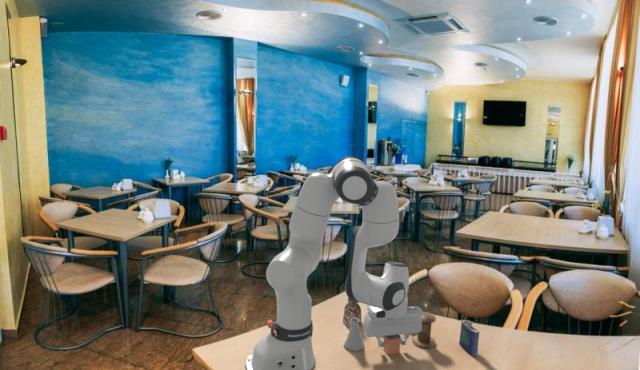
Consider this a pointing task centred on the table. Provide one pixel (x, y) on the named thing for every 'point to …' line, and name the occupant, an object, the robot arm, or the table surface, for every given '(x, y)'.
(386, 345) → the block
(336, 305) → the table surface
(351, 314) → the figurine
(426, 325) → the brown spool-shaped piece
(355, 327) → the flask
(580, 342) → the table surface
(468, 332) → the flask
